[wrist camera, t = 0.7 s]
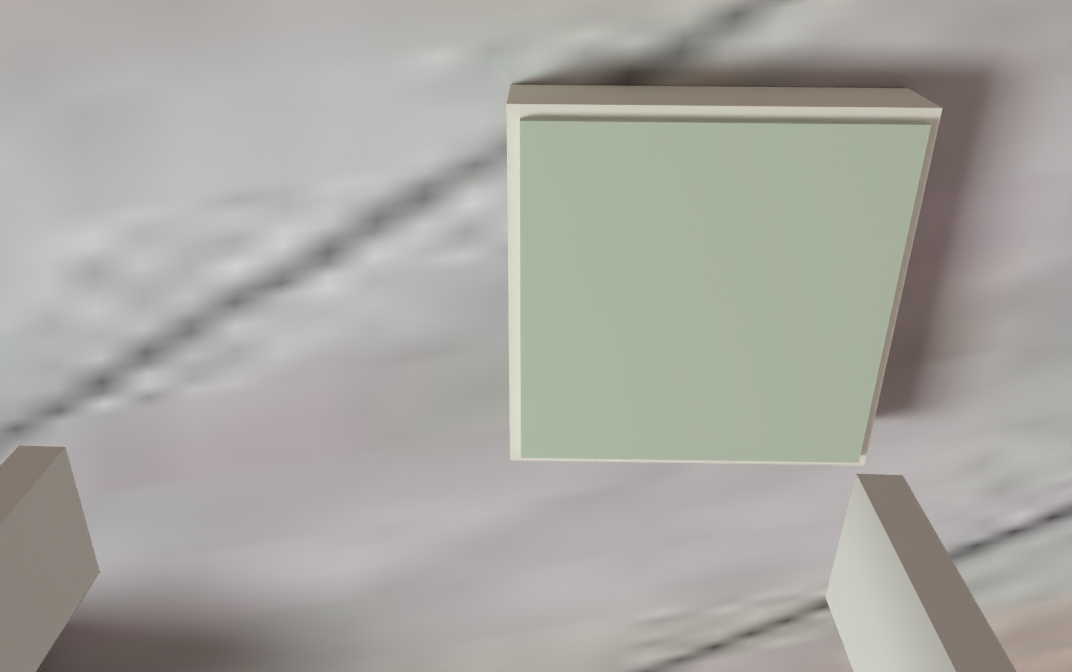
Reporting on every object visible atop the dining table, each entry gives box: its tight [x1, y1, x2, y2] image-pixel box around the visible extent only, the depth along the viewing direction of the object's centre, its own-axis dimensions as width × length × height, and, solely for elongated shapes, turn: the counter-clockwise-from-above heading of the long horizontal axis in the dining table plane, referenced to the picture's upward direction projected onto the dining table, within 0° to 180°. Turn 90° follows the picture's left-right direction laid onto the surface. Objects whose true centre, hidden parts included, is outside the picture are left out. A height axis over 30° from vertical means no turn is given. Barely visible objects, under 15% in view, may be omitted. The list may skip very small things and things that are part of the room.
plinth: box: [507, 85, 943, 465], centre depth 37 cm, size 16×16×4 cm
